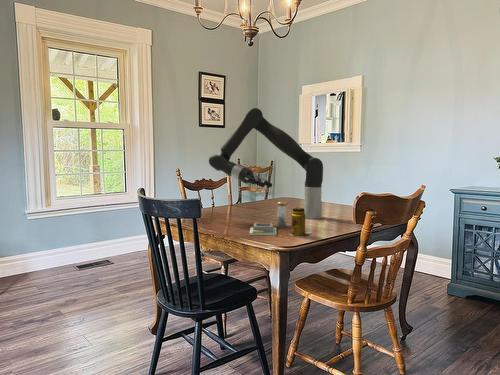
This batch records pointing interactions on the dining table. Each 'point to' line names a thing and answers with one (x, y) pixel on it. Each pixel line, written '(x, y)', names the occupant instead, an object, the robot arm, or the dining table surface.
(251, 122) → the robot arm
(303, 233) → the condiment
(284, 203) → the glass storage jar
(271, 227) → the dock
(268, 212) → the dining table surface
